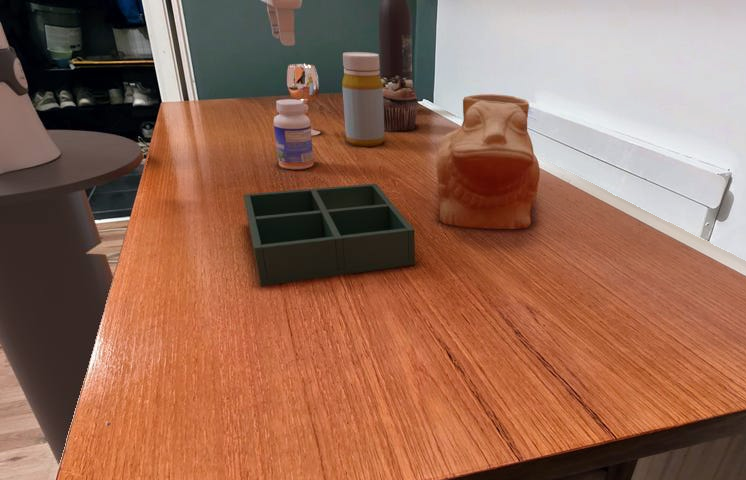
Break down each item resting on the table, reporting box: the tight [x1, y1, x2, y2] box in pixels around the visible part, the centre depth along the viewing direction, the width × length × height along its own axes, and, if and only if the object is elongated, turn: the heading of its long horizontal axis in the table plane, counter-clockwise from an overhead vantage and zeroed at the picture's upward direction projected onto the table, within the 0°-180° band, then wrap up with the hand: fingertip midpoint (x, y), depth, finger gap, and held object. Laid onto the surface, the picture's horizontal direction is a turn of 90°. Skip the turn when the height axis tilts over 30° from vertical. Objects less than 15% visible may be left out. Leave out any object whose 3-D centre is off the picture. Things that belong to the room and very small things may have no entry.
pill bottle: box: [273, 98, 315, 170], centre depth 85 cm, size 5×5×10 cm
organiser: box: [242, 183, 416, 287], centre depth 61 cm, size 16×16×4 cm
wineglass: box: [286, 63, 321, 137], centre depth 102 cm, size 6×6×12 cm
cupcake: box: [380, 75, 419, 132], centre depth 111 cm, size 10×10×10 cm
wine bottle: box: [378, 0, 413, 81], centre depth 120 cm, size 7×7×30 cm
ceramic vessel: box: [435, 93, 541, 230], centre depth 72 cm, size 14×26×15 cm, turn 0°
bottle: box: [341, 51, 385, 147], centre depth 98 cm, size 7×7×15 cm
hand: (283, 41), depth 78 cm, fingers open, 8 cm apart
